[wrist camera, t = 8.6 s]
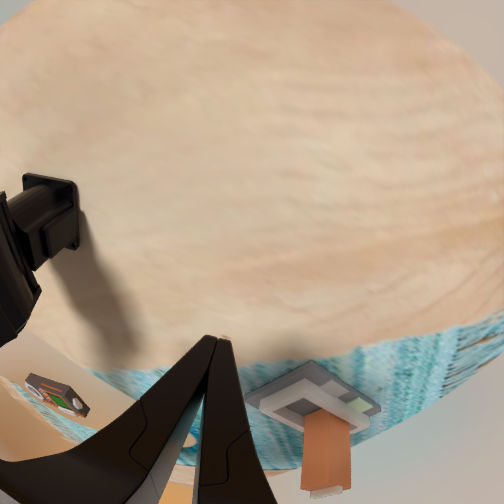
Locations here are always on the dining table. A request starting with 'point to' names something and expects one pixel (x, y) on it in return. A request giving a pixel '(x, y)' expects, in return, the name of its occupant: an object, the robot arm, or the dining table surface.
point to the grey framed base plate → (312, 398)
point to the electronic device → (57, 395)
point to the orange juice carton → (326, 455)
